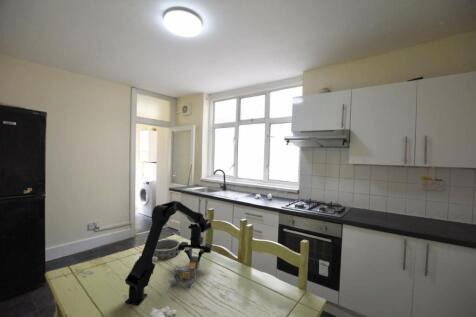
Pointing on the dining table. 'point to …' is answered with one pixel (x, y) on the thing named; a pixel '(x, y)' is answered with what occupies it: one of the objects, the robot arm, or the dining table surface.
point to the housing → (177, 276)
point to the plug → (191, 266)
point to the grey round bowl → (167, 253)
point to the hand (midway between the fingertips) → (195, 262)
